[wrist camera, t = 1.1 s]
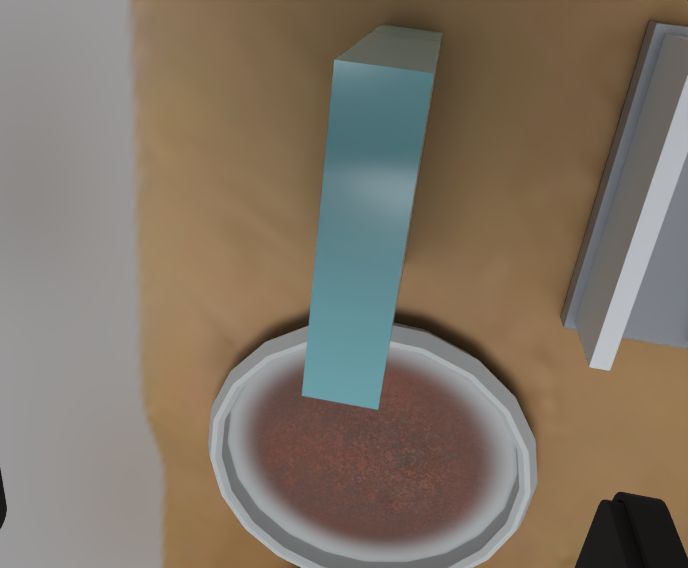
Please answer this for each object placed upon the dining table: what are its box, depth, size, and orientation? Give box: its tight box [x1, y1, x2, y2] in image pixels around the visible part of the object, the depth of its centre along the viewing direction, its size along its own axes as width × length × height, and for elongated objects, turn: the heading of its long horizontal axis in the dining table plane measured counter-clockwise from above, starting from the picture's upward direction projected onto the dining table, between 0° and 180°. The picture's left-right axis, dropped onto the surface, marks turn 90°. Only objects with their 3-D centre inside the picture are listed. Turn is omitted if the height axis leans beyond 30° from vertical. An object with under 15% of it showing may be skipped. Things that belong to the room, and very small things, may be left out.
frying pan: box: [208, 323, 537, 568], centre depth 36 cm, size 17×3×28 cm
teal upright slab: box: [302, 25, 443, 410], centre depth 23 cm, size 10×2×11 cm, turn 174°
